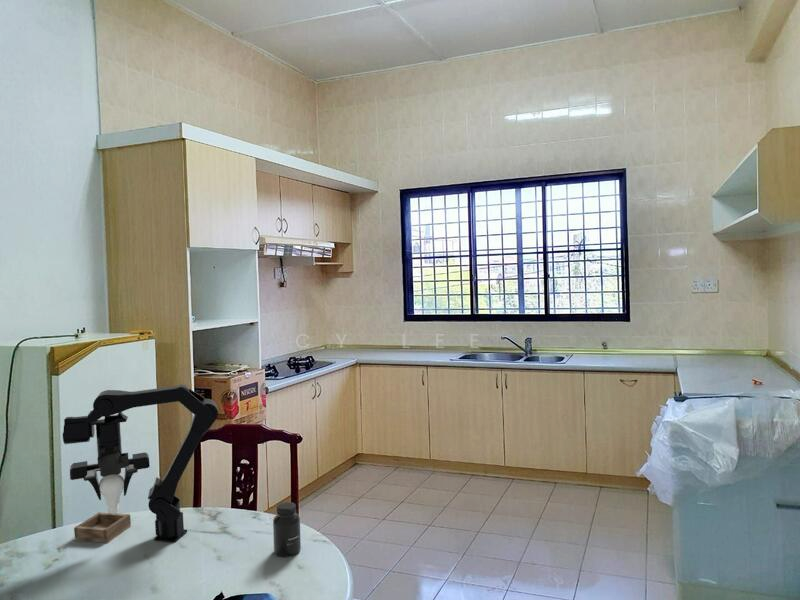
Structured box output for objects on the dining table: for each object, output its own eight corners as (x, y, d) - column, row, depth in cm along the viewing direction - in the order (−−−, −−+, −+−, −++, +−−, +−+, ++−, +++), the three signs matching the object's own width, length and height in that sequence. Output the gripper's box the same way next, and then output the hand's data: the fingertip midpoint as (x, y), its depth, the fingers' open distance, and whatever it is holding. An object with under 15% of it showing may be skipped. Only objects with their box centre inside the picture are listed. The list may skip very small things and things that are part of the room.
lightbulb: (131, 510, 166) (129, 470, 166) (114, 520, 161) (112, 478, 160) (112, 508, 168) (110, 468, 167) (95, 517, 162) (92, 476, 162)
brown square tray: (130, 526, 176) (130, 514, 176) (107, 542, 167) (106, 530, 166) (99, 524, 178) (98, 512, 178) (74, 540, 169) (74, 527, 168)
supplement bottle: (295, 558, 155) (293, 511, 154) (269, 556, 157) (267, 510, 156) (305, 545, 162) (303, 500, 161) (280, 543, 163) (278, 499, 162)
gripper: (66, 453, 152) (71, 516, 153) (149, 442, 160) (152, 501, 161) (69, 441, 162) (73, 500, 163) (146, 431, 170) (149, 486, 171)
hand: (112, 497), depth 164 cm, fingers closed on lightbulb, 5 cm apart
